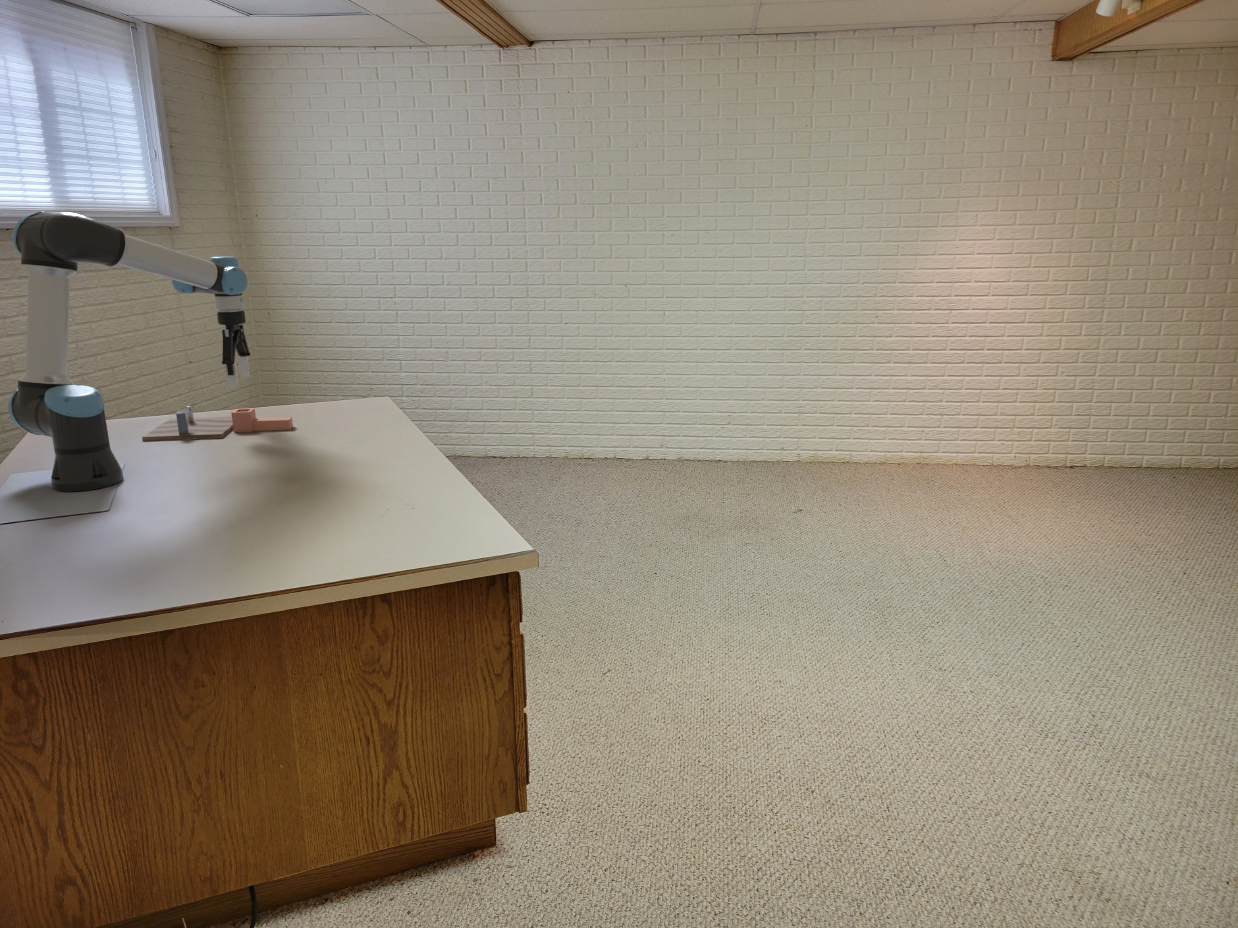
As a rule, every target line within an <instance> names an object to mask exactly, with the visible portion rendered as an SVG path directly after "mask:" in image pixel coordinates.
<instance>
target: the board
mask: <svg viewBox="0 0 1238 928" xmlns="http://www.w3.org/2000/svg"><path fill="white" fill-rule="evenodd" d="M193 418H194V422H193V423H188V430H189V433H188V434H179V431H178V424H177V418H169V419H167V420H166V421H164V422H163V423H162V424H160V425H158V426H157V427H155V428H153V430H150V431H148V433H146V434H145V435H143V436H142V437H141V438H142V442H151V441H153V442H155V441H156V442H157V441H177V440H178V441H179V440H180V441H181V440H204V439H205V440H209V439H210V440H211V439H223V438H224V437H226V436H227V435H228V434H229V433H230V432H231V431H232V430H233V422H232V416H220V417H217V416H216V417H193ZM187 422H188V421H187ZM233 431H234V430H233Z"/></svg>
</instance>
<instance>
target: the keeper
mask: <svg viewBox="0 0 1238 928" xmlns="http://www.w3.org/2000/svg"><path fill="white" fill-rule="evenodd" d="M187 414H188V409H186V408H184V409H178V410H177V412H176V413H175V416H176V419H177V424H178V431H179V434H188V433H189V430H188V422H187Z"/></svg>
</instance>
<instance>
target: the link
mask: <svg viewBox="0 0 1238 928" xmlns="http://www.w3.org/2000/svg"><path fill="white" fill-rule="evenodd" d="M231 417H232V422H233V433H246V432H249V433H250V432H259V431H260V432H261V431H286V430H287V431H290V430H291V429H292V428H293V427H294V423H293V417H292V416H289V417H287V416H286V417H282V416H281V417H258V418H257V417H256V409H255V408H253V407H252V408H236V409H234V410H233V411H231Z"/></svg>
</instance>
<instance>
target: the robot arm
mask: <svg viewBox="0 0 1238 928" xmlns="http://www.w3.org/2000/svg"><path fill="white" fill-rule="evenodd" d="M12 242H13V246H14V247H15V249H16V250H17V252H18V253H19V254H20V256H21V257H20V259H21V260H20V267H22V269H24V271H26V273H27V275H28V277H27V279H28V281H27V283H28V284H27V311H26V313H27V314H26V316H27V317H26V347H25V348H26V351H25V353H26V356H25V373H24V374H22V375H21V376H20V377H19V378H18V379H17V390H15V392H13V393H12V394H11V396H10V397H9V400H8V405H7V409H8V410H7V411H8V415H9V417H10V419H11V420H12V422H13V423H14V425H16V426H17V427H18V428H20V429H21V430H23V431H26V432H27V433H30V434H32V435H34V436H35V435H36V436H45V437H50V438H51V439H52V445H53V450H54V461H53V465H52V466H53V467H52V471H51V477H50V480H51V486H52V489H53V490H55V491H59V492H82V491H91V490H92V491H93V490H97V489H101V488H106V487H110V486H113V485H116V484H118V483H119V482H122V481H123V480H124V474H123V469H122V467H121V466H120V464H119V461H118V460H117V458H116V456H115V454H114V453H113V451H112V449H111V444H110V438H109V431H108V425H107V420H106V419H107V418H106V412H105V404H104V403H105V402H104V401H103V400H104V399H103V397H102V394H101V392H100V390H98V389H97V388H95V387H92V386H88V385H83V384H82V385H77V384H75V383H74V381H73V380H72V379H71V378H70V377H69V376H68V353H69V352H68V349H69V348H68V346H69V345H68V344H69V322H70V321H69V315H70V314H69V313H70V289H71V287H70V286H71V278H72V277H74V276H75V275H76V274H77V273H78V266H79V265H78V263H83V264H84V263H85V264H96V265H97V264H98V265H103V266H106V267H110V268H111V267H112V268H114V267H116V266H117V265H119V266H122V267H126V268H130V269H133V270H136V271H141V272H144V273H147V274H151V275H155V276H158V277H162V278H165V279H168V280H171V283H172V286H173V288H174V290H176V291H177V292H178V293H180V294H188V295H189V294H190V295H192V294H214V301H215V303H214V304H215V310H217V312H216V316H217V323H218V324H219V325H222V326H225V328H224V329H222V330H221V332H222V333H221V334H222V358H221V359H222V361H221V364H222V365H225V372H226V380H227V386H228V387H239V386H240V385H239V379H238V373H239V378H240V379H247V378H248V379H249V378H250V379H251V374H250V368H249V367H250V365H249V356H251V352H250V349H249V346H248V342H247V339H246V338H247V337H246V333H245V331H244V325H243V324H246V322H247V321H246V314H245V310H243V309H244V308H245V305H244V302H246V299H245V298H244V297H243V293H244V292H245V291H246V289H247V288H248V277H247V274H246V273H245V270H243V269H242V268H240V264H239V260H238V258H237V257H236V256H228V255H227V256H226V255H225V256H221V255H220V256H211V257H210V259H209V260H207V259H205V258H204V259H203V258H200V257H198V256H195V255H192V254H188V253H186V252H182V251H178V250H175V249H172V248H169V247H165V246H163V245H160V244H157V243H154V242H150V241H147V240H144V239H142V238H141V239H140V238H137V237H134V236H132V235H128V234H126V233H125V231H124V230H123V229H122V228H120V227H117V226H114V225H110V224H108V223H105V222H102V221H99V220H97V219H94V218H91V217H88V216H85V215H82V214H79V213H75V212H69V211H66V212H65V211H62V212H61V211H58V212H57V211H37V212H34V213H29V214H26V215H24V216H23V217H21V218H20V219H18V221H17V222H16V223H15V226H14V227H13V229H12ZM236 352H237V354H238V356H237V362H238V369H239V372H238V371H237V365H236V364H237V363H236V362H235V361H236Z"/></svg>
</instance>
